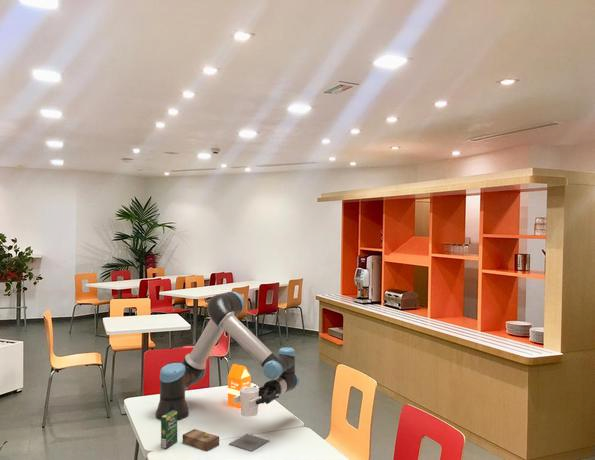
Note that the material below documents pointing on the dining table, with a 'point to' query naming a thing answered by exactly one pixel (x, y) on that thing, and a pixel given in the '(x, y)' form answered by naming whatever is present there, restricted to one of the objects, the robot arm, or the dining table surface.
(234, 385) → the orange juice
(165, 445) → the coffee box
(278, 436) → the dining table surface
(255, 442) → the mat
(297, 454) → the dining table surface
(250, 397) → the white cup
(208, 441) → the walnut block
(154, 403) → the dining table surface
